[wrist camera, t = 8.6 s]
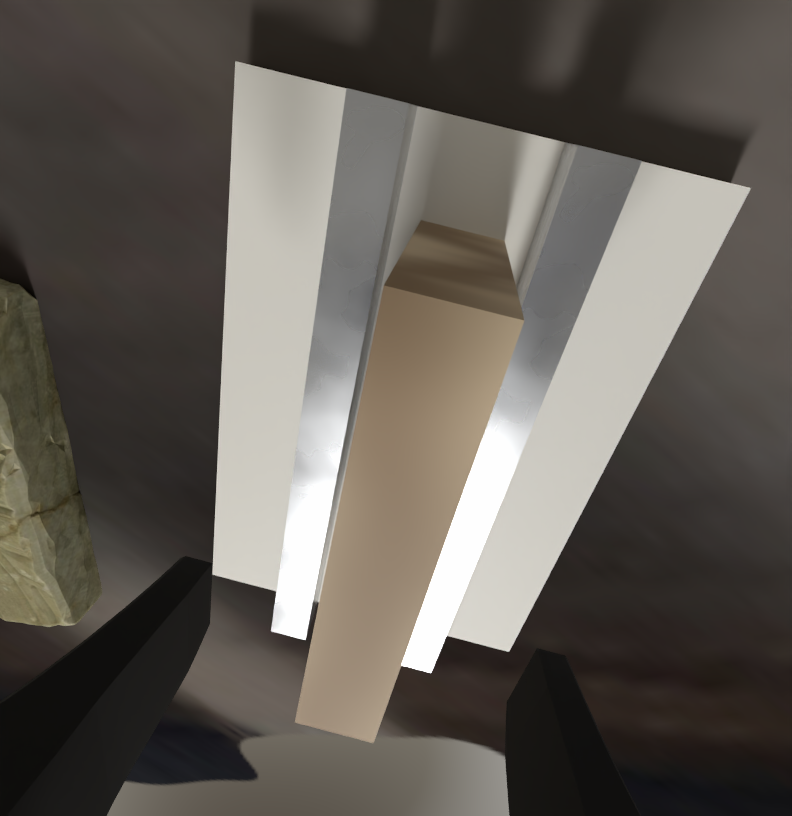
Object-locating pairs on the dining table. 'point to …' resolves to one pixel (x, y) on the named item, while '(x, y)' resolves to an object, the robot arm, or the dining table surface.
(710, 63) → the dining table surface
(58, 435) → the mossy green slab
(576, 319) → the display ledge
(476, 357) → the tan wooden frame
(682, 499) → the dining table surface
